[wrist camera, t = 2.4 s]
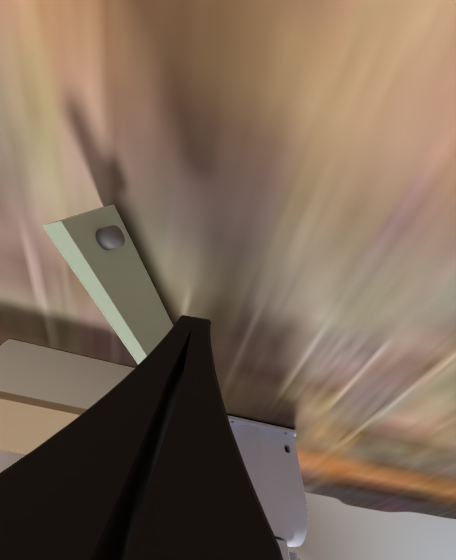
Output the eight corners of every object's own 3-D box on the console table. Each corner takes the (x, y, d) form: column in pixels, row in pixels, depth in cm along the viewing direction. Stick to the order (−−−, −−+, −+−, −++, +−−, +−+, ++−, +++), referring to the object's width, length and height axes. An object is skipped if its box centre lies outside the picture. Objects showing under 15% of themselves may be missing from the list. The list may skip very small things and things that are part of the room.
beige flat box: (203, 384, 22) (193, 438, 17) (183, 432, 28) (172, 481, 23) (9, 338, 20) (-56, 387, 16) (33, 400, 26) (-9, 448, 21)
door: (208, 382, 21) (201, 427, 17) (191, 384, 21) (181, 428, 18) (125, 201, 12) (76, 216, 9) (99, 208, 12) (41, 225, 9)
